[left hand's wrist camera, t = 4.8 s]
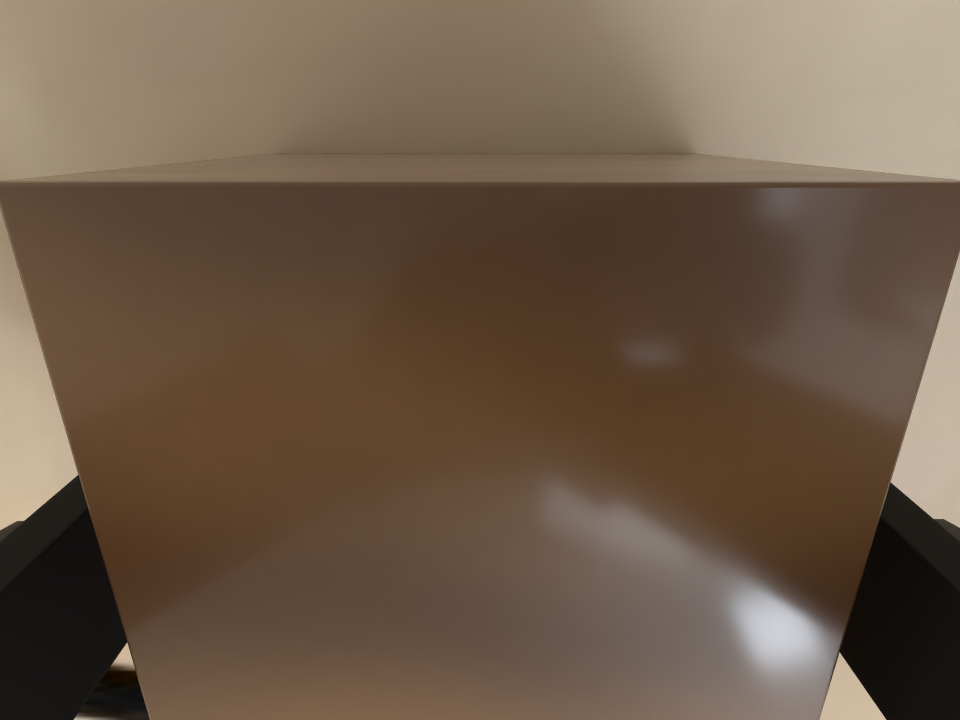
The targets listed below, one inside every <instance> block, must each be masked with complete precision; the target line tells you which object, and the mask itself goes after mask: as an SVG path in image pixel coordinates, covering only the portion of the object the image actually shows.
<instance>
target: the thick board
mask: <svg viewBox="0 0 960 720" xmlns="http://www.w3.org/2000/svg"><path fill="white" fill-rule="evenodd" d="M0 207H1V211H2V214H3V218H4V221H5V225H6V228H7V231H8V235H9V238H10V242H11V245H12V249H13V252H14V255H15V259H16V262H17V266H18V269H19V273H20V276H21V279H22V283H23V286H24V290H25V293H26V296H27V300H28V303H29V307H30V310H31V314H32V317H33V320H34V324H35V327H36V331H37V334H38V338H39V341H40V344H41V348H42V351H43V355H44V358H45V362H46V365H47V368H48V372H49V375H50V379H51V382H52V386H53V389H54V392H55V396H56V399H57V403H58V406H59V409H60V413H61V416H62V420H63V423H64V427H65V430H66V433H67V437H68V440H69V444H70V447H71V451H72V454H73V457H74V461H75V464H76V468H77V471H78V475H79V478H80V481H81V485H82V488H83V492H84V495H85V499H86V502H87V505H88V509H89V512H90V516H91V519H92V522H93V526H94V529H95V533H96V536H97V540H98V543H99V546H100V550H101V553H102V557H103V560H104V564H105V567H106V570H107V574H108V577H109V581H110V584H111V588H112V591H113V594H114V598H115V601H116V605H117V608H118V612H119V615H120V618H121V622H122V625H123V629H124V632H125V635H126V639H127V642H128V646H129V649H130V653H131V656H132V659H133V663H134V666H135V670H136V673H137V677H138V680H139V683H140V687H141V690H142V694H143V697H144V701H145V704H146V707H147V711H148V714H149V718H150V720H819V719H820V715H821V712H822V709H823V705H824V702H825V699H826V695H827V692H828V689H829V685H830V682H831V679H832V675H833V672H834V669H835V665H836V662H837V659H838V655H839V652H840V649H841V645H842V642H843V639H844V635H845V632H846V629H847V625H848V622H849V619H850V615H851V612H852V609H853V605H854V602H855V599H856V595H857V592H858V589H859V585H860V582H861V579H862V575H863V572H864V569H865V565H866V562H867V559H868V555H869V552H870V549H871V545H872V542H873V539H874V535H875V532H876V529H877V525H878V522H879V519H880V515H881V512H882V509H883V505H884V502H885V499H886V495H887V492H888V489H889V485H890V482H891V479H892V475H893V472H894V469H895V465H896V462H897V459H898V455H899V452H900V449H901V445H902V442H903V439H904V435H905V432H906V429H907V425H908V422H909V419H910V415H911V412H912V409H913V405H914V402H915V399H916V395H917V392H918V389H919V385H920V382H921V379H922V375H923V372H924V369H925V365H926V362H927V359H928V355H929V352H930V349H931V345H932V342H933V339H934V335H935V332H936V329H937V325H938V322H939V319H940V315H941V312H942V309H943V305H944V302H945V299H946V295H947V292H948V289H949V285H950V282H951V279H952V275H953V272H954V269H955V265H956V262H957V259H958V255H959V252H960V180H952V179H942V178H932V177H922V176H912V175H902V174H892V173H882V172H872V171H862V170H851V169H841V168H831V167H821V166H811V165H801V164H791V163H781V162H771V161H761V160H751V159H741V158H731V157H721V156H711V155H701V154H267V155H257V156H247V157H237V158H227V159H217V160H207V161H197V162H187V163H178V164H168V165H158V166H148V167H138V168H128V169H118V170H108V171H98V172H88V173H78V174H68V175H59V176H49V177H39V178H29V179H19V180H9V181H0Z"/></svg>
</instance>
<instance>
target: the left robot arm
mask: <svg viewBox="0 0 960 720" xmlns="http://www.w3.org/2000/svg"><path fill="white" fill-rule="evenodd" d="M126 643H127V639H126V635H125V632H124V629H123V625H122V622H121V618H120V615H119V612H118V608H117V605H116V601H115V598H114V594H113V591H112V588H111V584H110V581H109V577H108V574H107V570H106V567H105V564H104V560H103V557H102V553H101V550H100V546H99V543H98V540H97V536H96V533H95V529H94V526H93V522H92V519H91V516H90V512H89V509H88V505H87V502H86V499H85V495H84V492H83V488H82V485H81V481H80V478H79V475H78V476H76V477H75V478H74V479H73V480H72V481H71V482H69V483H68V484H67V485H66V486H65V487H64V488H62V489H61V490H60V491H59V492H58V493H57V494H55V495H54V496H53V497H52V498H51V499H49V500H48V501H47V502H46V503H45V504H44V505H42V506H41V507H40V508H39V509H38V510H37V511H35V512H34V513H33V514H32V515H31V516H30V517H28V518H27V519H26V520H25V521H17V522H15V523H13V524H11V525H9V526H7V527H6V528H4V529H2V530H0V720H74V718H75V717H76V715H77V714H78V712H79V711H80V710H81V708H82V707H83V705H84V704H85V702H86V701H87V699H88V698H89V697H90V695H91V694H92V692H93V691H94V689H95V688H96V686H97V685H98V684H99V682H100V681H101V679H102V678H103V676H104V675H105V673H106V672H107V671H108V669H109V668H110V666H111V665H112V663H113V662H114V660H115V659H116V658H117V656H118V655H119V653H120V652H121V650H122V649H123V647H124V646H125V645H126ZM840 653H841V655H842V656H843V658H844V659H845V660H846V662H847V663H848V665H849V666H850V668H851V669H852V671H853V672H854V673H855V675H856V676H857V678H858V679H859V681H860V682H861V684H862V685H863V686H864V688H865V689H866V691H867V692H868V694H869V695H870V697H871V698H872V699H873V701H874V702H875V704H876V705H877V707H878V708H879V710H880V711H881V712H882V714H883V715H884V717H885V718H886V720H960V528H959V527H957V526H955V525H953V524H951V523H950V522H948V521H946V520H944V519H933V518H932V517H930V516H929V515H928V514H927V513H926V512H925V511H923V510H922V509H921V508H920V507H919V506H918V505H916V504H915V503H914V502H913V501H912V500H911V499H909V498H908V497H907V496H906V495H905V494H903V493H902V492H901V491H900V490H899V489H898V488H896V487H895V486H894V485H893V484H892V483H891V482H890V485H889V489H888V492H887V495H886V499H885V502H884V505H883V509H882V512H881V515H880V519H879V522H878V525H877V529H876V532H875V535H874V539H873V542H872V545H871V549H870V552H869V555H868V559H867V562H866V565H865V569H864V572H863V575H862V579H861V582H860V585H859V589H858V592H857V595H856V599H855V602H854V605H853V609H852V612H851V615H850V619H849V622H848V625H847V629H846V632H845V635H844V639H843V642H842V645H841V649H840Z"/></svg>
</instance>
